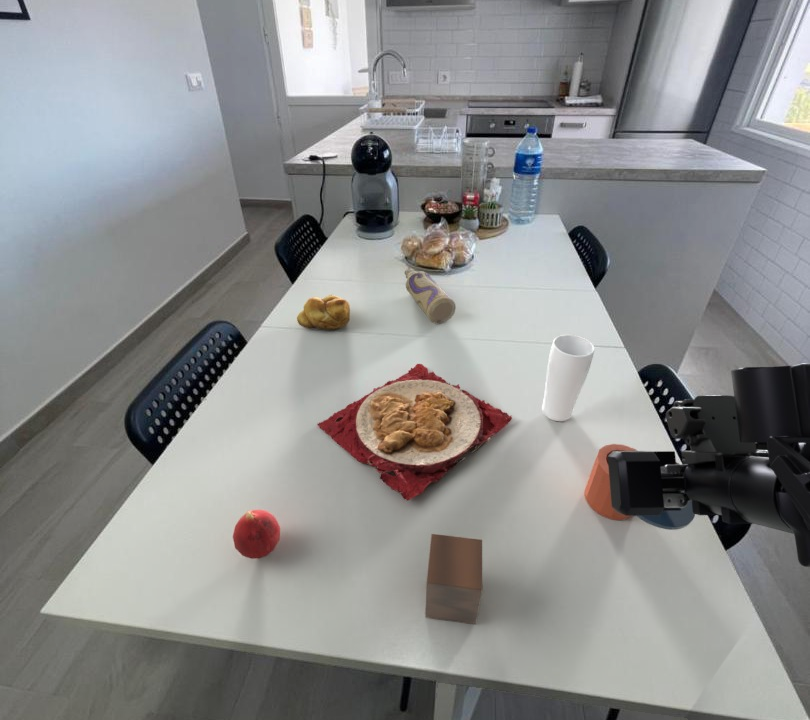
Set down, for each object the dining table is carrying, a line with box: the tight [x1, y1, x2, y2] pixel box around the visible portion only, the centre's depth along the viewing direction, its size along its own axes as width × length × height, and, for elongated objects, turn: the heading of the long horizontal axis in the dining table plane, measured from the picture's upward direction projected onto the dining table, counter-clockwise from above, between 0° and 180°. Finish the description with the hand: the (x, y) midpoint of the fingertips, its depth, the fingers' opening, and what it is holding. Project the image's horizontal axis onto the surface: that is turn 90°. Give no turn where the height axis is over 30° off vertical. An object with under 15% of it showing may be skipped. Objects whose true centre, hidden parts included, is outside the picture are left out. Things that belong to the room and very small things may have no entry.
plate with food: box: [316, 363, 513, 501], centre depth 79 cm, size 24×26×4 cm
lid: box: [636, 461, 696, 531], centre depth 52 cm, size 8×8×6 cm
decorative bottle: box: [404, 267, 457, 324], centre depth 116 cm, size 26×8×7 cm, turn 18°
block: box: [424, 533, 483, 625], centre depth 53 cm, size 6×6×8 cm
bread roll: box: [296, 294, 351, 331], centre depth 106 cm, size 13×10×8 cm
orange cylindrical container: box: [584, 443, 638, 521], centre depth 64 cm, size 7×7×8 cm
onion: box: [232, 509, 281, 560], centre depth 58 cm, size 6×6×8 cm
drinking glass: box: [541, 334, 596, 422], centre depth 78 cm, size 7×7×15 cm
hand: (659, 474), depth 53 cm, fingers closed on lid, 2 cm apart
